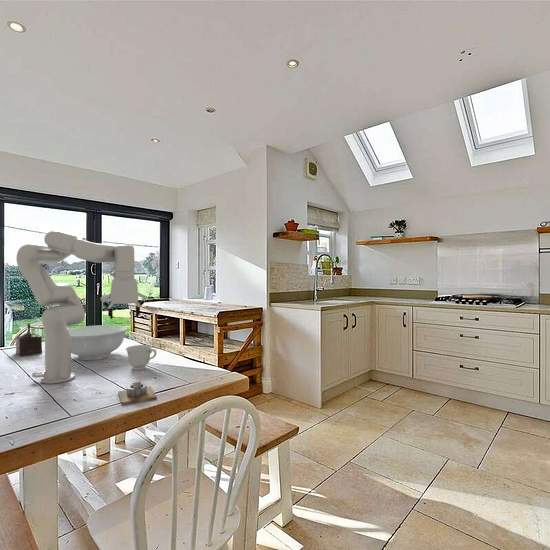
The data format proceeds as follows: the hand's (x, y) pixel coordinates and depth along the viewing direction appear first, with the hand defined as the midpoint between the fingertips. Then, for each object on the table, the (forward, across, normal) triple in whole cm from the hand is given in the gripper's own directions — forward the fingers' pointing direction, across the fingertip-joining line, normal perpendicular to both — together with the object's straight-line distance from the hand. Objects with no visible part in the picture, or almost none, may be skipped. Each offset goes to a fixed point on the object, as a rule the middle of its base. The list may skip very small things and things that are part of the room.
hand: (124, 317), depth 141 cm
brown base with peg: (+28, +3, -14) cm, 32 cm away
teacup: (+28, +10, +22) cm, 37 cm away
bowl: (+29, -9, +56) cm, 64 cm away
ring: (+27, +3, -14) cm, 31 cm away
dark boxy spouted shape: (+29, -38, +80) cm, 93 cm away
